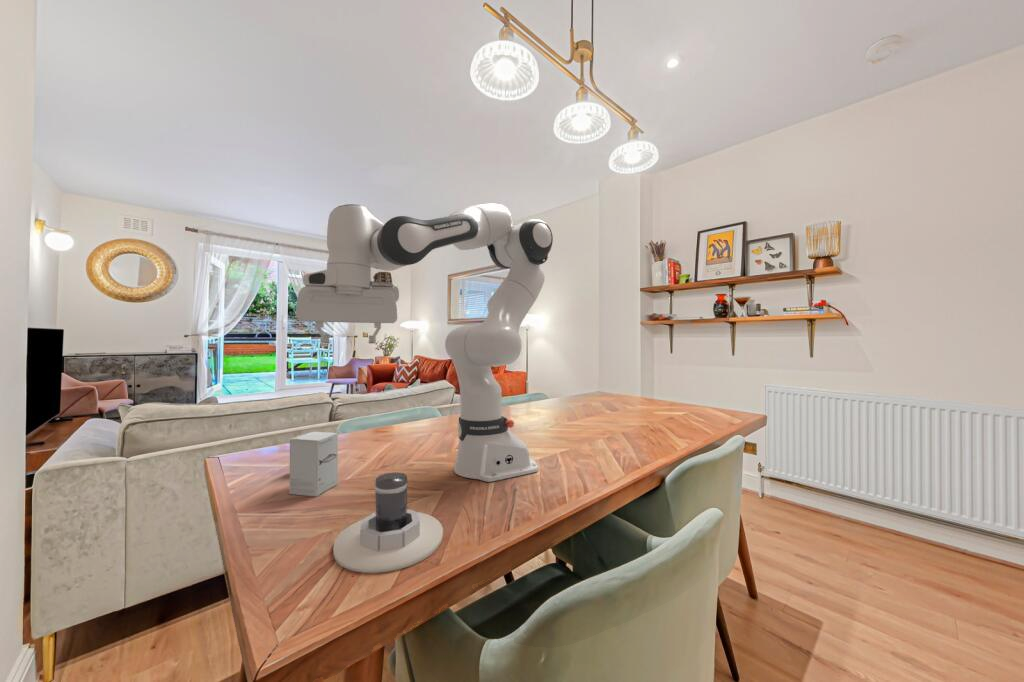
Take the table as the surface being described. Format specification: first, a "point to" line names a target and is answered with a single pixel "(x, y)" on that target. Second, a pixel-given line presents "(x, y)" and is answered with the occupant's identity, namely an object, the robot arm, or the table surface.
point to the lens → (391, 501)
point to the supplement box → (313, 463)
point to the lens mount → (387, 544)
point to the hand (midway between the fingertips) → (349, 343)
